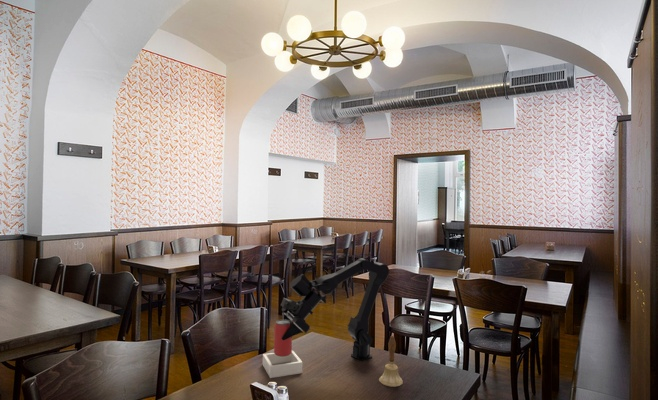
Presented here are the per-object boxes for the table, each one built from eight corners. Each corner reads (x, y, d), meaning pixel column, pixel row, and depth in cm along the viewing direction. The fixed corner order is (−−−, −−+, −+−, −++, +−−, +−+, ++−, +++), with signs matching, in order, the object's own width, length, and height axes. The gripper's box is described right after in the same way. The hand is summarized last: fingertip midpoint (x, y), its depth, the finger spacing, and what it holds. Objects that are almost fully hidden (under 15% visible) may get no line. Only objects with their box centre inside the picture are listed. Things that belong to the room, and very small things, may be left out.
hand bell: (407, 381, 136) (408, 336, 136) (394, 389, 130) (395, 342, 130) (387, 373, 141) (388, 330, 141) (374, 381, 135) (375, 335, 135)
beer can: (283, 358, 139) (283, 325, 139) (270, 354, 143) (270, 322, 143) (295, 353, 144) (295, 321, 144) (282, 348, 148) (282, 317, 148)
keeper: (292, 360, 151) (292, 350, 151) (302, 373, 140) (302, 362, 140) (262, 364, 147) (262, 354, 147) (270, 378, 136) (270, 366, 136)
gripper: (286, 285, 154) (259, 315, 149) (301, 296, 137) (271, 330, 132) (305, 303, 157) (278, 333, 153) (321, 316, 140) (292, 350, 135)
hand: (279, 336), depth 143 cm, fingers closed on beer can, 7 cm apart
